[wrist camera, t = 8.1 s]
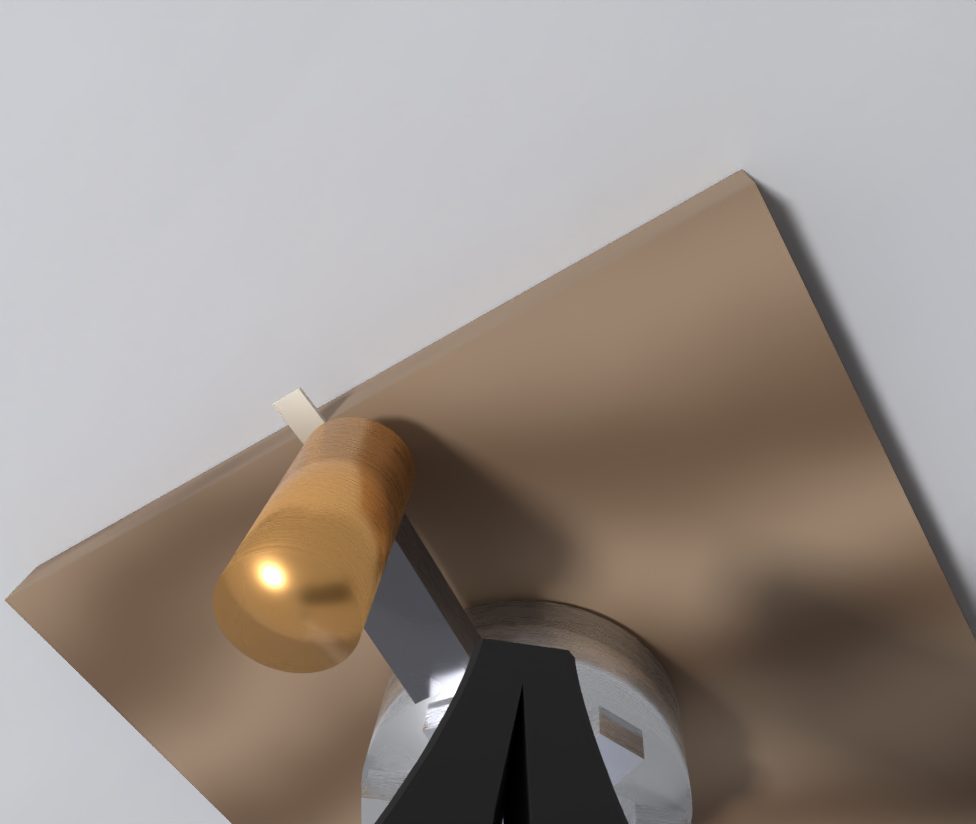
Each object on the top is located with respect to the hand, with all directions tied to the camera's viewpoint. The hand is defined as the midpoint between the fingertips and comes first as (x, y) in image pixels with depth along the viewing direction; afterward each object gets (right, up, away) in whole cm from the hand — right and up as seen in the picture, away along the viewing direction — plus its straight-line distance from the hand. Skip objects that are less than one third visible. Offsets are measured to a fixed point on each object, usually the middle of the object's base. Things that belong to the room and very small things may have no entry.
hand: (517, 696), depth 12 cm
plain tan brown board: (+1, -4, +12) cm, 13 cm away
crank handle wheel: (-1, -2, +9) cm, 10 cm away
